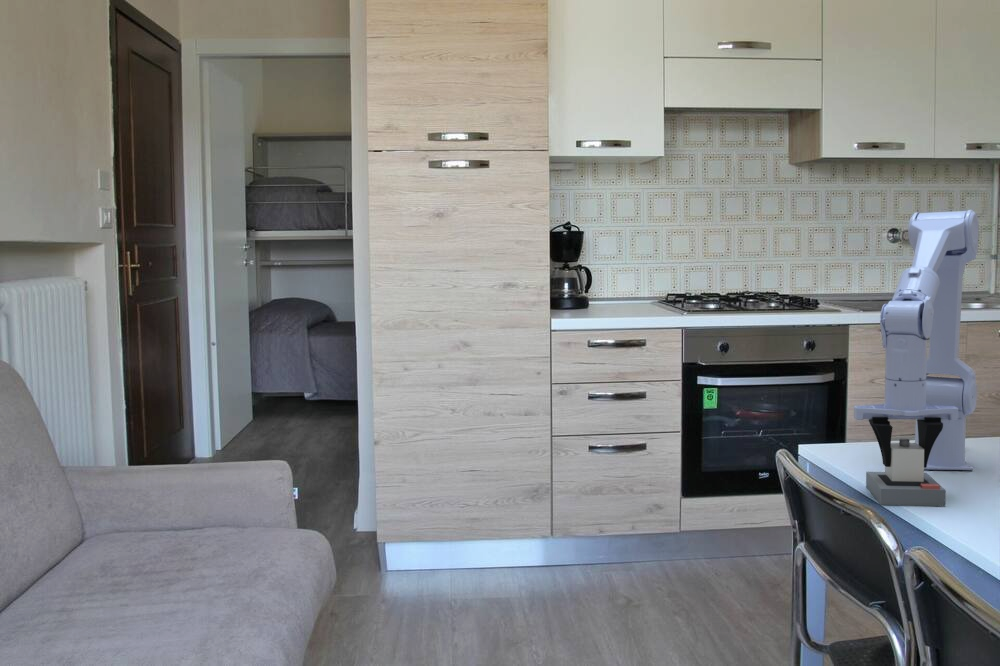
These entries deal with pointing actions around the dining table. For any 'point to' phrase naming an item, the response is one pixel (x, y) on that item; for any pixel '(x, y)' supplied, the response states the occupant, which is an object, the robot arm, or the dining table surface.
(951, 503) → the dining table surface
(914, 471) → the plug
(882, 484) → the socket plate
